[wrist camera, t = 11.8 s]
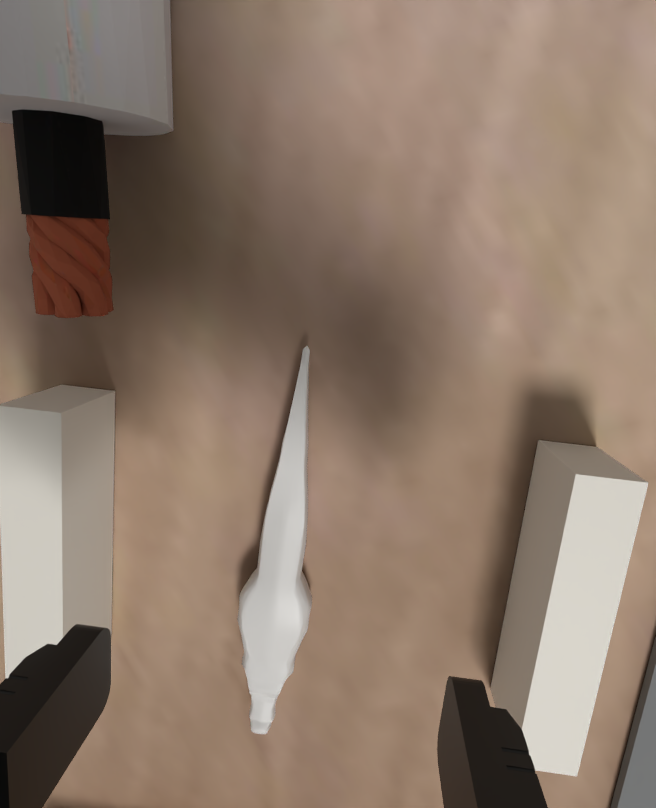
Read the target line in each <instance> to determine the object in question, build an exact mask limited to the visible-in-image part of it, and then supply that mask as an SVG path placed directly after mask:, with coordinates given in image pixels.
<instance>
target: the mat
mask: <svg viewBox="0 0 656 808" xmlns="http://www.w3.org/2000/svg"><path fill="white" fill-rule="evenodd" d="M611 808H656V637H655V641H654V644H653V648H652V652H651V656H650V660H649V663H648V667H647V671H646V675H645V678H644V682H643V686H642V690H641V694H640V697H639V701H638V705H637V709H636V713H635V716H634V720H633V724H632V728H631V732H630V735H629V739H628V743H627V747H626V751H625V754H624V758H623V762H622V766H621V770H620V773H619V777H618V781H617V785H616V789H615V792H614V796H613V800H612V804H611Z"/></svg>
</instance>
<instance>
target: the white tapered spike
mask: <svg viewBox="0 0 656 808" xmlns="http://www.w3.org/2000/svg"><path fill="white" fill-rule="evenodd" d="M309 357H310V350H309V348H308V346H306V347H305V348H304V349H303V353H302V359H301V365H300V370H299V374H298V379H297V384H296V388H295V393H294V397H293V402H292V407H291V411H290V416H289V420H288V424H287V427H286V431H285V434H284V438H283V442H282V447H281V453H280V458H279V462H278V466H277V470H276V473H275V477H274V480H273V484H272V488H271V491H270V496H269V501H268V505H267V509H266V513H265V518H264V523H263V529H262V534H261V539H260V548H259V557H258V567H257V569H256V570H255V571H254V572H253V573H252V575H251V576H250V578H249V580H248V581H247V583H246V584H245V585H244V587H243V589H242V591H241V593H240V595H239V611H238V619H237V620H238V624H239V628H240V631H241V636H242V641H243V647H244V654H243V658H242V665H243V667H244V669H245V672H246V676H247V681H248V687H249V692H250V694H251V699H252V701H251V706H250V711H249V717H250V720H251V724H250V725H251V731H252V732H254V733H258V734H266V733H267V732H268V730H269V728H270V726H271V722H272V721H273V719H274V717H275V704H276V700H277V697H278V695H279V693H280V691H281V689H282V687H283V685H284V682H285V680H286V679H287V678H288V677H289V676H290V675H291V674H292V673H293V670H294V663H295V655H296V652H297V650H298V648H299V646H300V644H301V641H302V639H303V638H304V636H305V634H306V632H307V630H308V623H309V615H310V610H311V606H312V595H311V592H310V589H309V586H308V583H307V580H306V578H305V576H304V574H303V572H302V566H303V560H304V553H305V547H306V539H307V522H308V475H307V462H308V384H309Z"/></svg>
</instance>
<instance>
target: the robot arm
mask: <svg viewBox="0 0 656 808" xmlns="http://www.w3.org/2000/svg"><path fill="white" fill-rule="evenodd" d="M110 685H111V633H110V630H109V629H108V628H104V627H96V626H89V625H82V624H76V625H74V626H73V627H72V628H71V629H70V630H69V631H68V633H67V634H66V635H65V636H64V637H63V638H62V639H61V641H60V642H59V643H58V644H57V645H54V644H46V645H45V646H43V647H41V648H40V649H38V650H36V651H35V652H33V653H32V654H30V655H28V656H27V657H25V658H24V659H23V660H22V661H21V663H20V664H19V665H18V666H17V667H16V668H15V669H14V670H13V671H12V672H11V673H10V674H9V677H8V678H6V679H5V680H4V681H3V682H2V683H1V684H0V808H42V807H43V806H44V804H45V802H46V801H47V799H48V798H49V796H50V794H51V793H52V791H53V790H54V788H55V786H56V785H57V783H58V782H59V780H60V778H61V777H62V775H63V774H64V772H65V771H66V769H67V767H68V766H69V764H70V763H71V761H72V759H73V758H74V756H75V755H76V753H77V751H78V750H79V748H80V747H81V745H82V743H83V742H84V740H85V739H86V737H87V736H88V734H89V732H90V731H91V729H92V728H93V726H94V724H95V723H96V721H97V720H98V718H99V716H100V715H101V713H102V711H103V709H104V707H105V705H106V702H107V699H108V696H109V691H110ZM437 751H438V767H439V774H440V781H441V789H442V796H443V804H444V808H548V807H547V804H546V801H545V798H544V795H543V792H542V789H541V786H540V783H539V780H538V777H537V774H535V768H534V765H533V762H532V759H531V756H530V755H529V750H528V747H527V744H526V740H525V737H524V734H523V731H522V729H521V728H520V726H519V725H518V724H517V722H516V721H515V720H514V719H513V717H512V716H511V715H510V714H509V712H508V711H507V710H506V709H501V708H494V707H490V705H489V701H488V697H487V694H486V690H485V686H484V684H483V682H482V681H481V680H473V679H466V678H459V677H451V676H449V678H448V680H447V684H446V690H445V696H444V702H443V708H442V714H441V720H440V726H439V732H438V748H437Z"/></svg>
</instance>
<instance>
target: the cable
mask: <svg viewBox="0 0 656 808" xmlns="http://www.w3.org/2000/svg"><path fill="white" fill-rule="evenodd" d="M0 122H3V123H9V124H13V129H14V139H15V149H16V160H17V170H18V180H19V191H20V201H21V211H22V214H26V222H27V232H28V234H29V236H30V238H31V239H30V243H29V256H30V260H31V263H32V266H33V270H34V271H33V274H32V282H33V291H34V300H35V309H36V313H37V314H41V315H55V316H56V317H60V318H74V317H80V316H82V315H85V316H104V315H107V314H108V312H111V311H113V310H114V309H113V303H112V276H111V274H110V271H109V268H110V249H109V246H108V242H107V236H108V234H109V225H108V219H110V214H109V199H108V185H107V170H106V156H105V141H104V134H109V135H126V136H151V135H163V134H166V133H169V132H172V131H173V94H172V55H171V15H170V0H0Z"/></svg>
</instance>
